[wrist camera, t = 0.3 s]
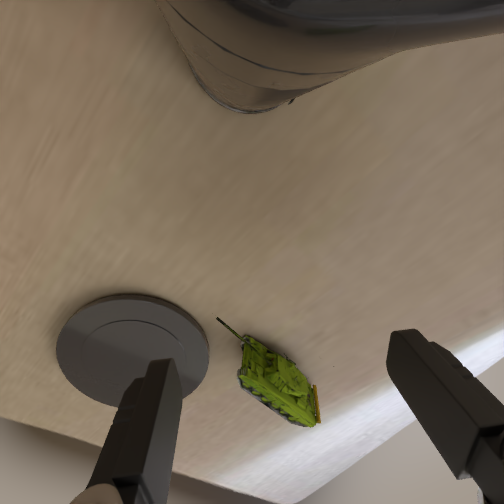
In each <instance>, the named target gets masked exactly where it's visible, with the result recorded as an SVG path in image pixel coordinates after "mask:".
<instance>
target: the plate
mask: <svg viewBox="0 0 504 504" xmlns="http://www.w3.org/2000/svg"><path fill="white" fill-rule="evenodd" d="M56 353H57V360H58V363H59V366H60V368H61V370H62V372H63V374H64V375H65V377H66V378H67V379H68V380H69V382H70V383H71V384H72V385H73V386H74V387H76V388H77V389H78V390H79V391H80V392H82V393H83V394H85V395H86V396H88V397H90V398H92V399H94V400H96V401H98V402H101V403H103V404H107V405H110V406H114V407H119V404H120V402H121V399H122V397H123V394H124V392H125V391H126V389H127V388H128V387H129V386H130V384H131V383H132V382H133V381H134V379H135V378H141V377H145V375H146V372H147V368H148V365H149V363H150V361H151V360H158V359H166V358H173V359H174V360H175V364H176V368H177V371H178V375H179V379H180V383H181V387H182V399H183V398H185V397H186V396H188V395H189V394H191V393H192V392H193V391H194V390H195V389H196V388H197V387H198V386H199V385H200V383H201V382H202V380H203V379H204V377H205V375H206V372H207V369H208V364H209V347H208V342H207V339H206V336H205V335H204V333H203V331H202V329H201V328H200V326H199V325H198V324H197V322H196V321H195V320H194V319H193V318H192V317H191V316H189V315H188V314H187V313H186V312H184V311H183V310H181V309H179V308H178V307H176V306H174V305H172V304H170V303H168V302H165V301H163V300H160V299H157V298H152V297H148V296H141V295H116V296H110V297H106V298H102V299H99V300H96V301H94V302H92V303H90V304H88V305H86V306H84V307H83V308H81V309H80V310H78V311H77V312H76V313H75V314H74V315H73V316H72V317H71V318H70V319H69V320H68V322H67V323H66V324H65V326H64V327H63V328H62V330H61V332H60V334H59V337H58V340H57V347H56Z"/></svg>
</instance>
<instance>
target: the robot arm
mask: <svg viewBox="0 0 504 504" xmlns="http://www.w3.org/2000/svg"><path fill="white" fill-rule="evenodd" d="M155 2H156V4H157V5H158V7H159V9H160V11H161V13H162V14H163V16H164V18H165V20H166V22H167V23H168V25H169V27H170V29H171V31H172V32H173V34H174V36H175V38H176V40H177V41H178V43H179V45H180V47H181V49H182V50H183V52H184V54H185V56H186V58H187V59H188V61H189V64H190V67H191V69H192V71H193V73H194V75H195V77H196V79H197V80H198V82H199V83H200V85H201V86H202V88H203V89H204V90H205V91H206V93H207V94H208V95H209V96H210V97H211V98H212V99H214V100H215V101H216V102H217V103H219V104H220V105H222V106H224V107H225V108H227V109H230V110H232V111H235V112H239V113H245V114H256V113H262V112H266V111H269V110H272V109H274V108H276V107H278V106H280V105H281V104H283V103H285V102H287V101H289V100H291V99H292V100H291V101H290V102H289V104H291V103H292V102H293V100H294V99H295V98H296V97H298V96H300V95H303V94H305V93H307V92H310V91H312V90H314V89H316V88H319V87H321V86H323V85H326V84H328V83H330V82H332V81H335V80H337V79H339V78H341V77H343V76H346V75H348V74H350V73H353V72H355V71H357V70H359V69H362V68H364V67H366V66H368V65H371V64H373V63H375V62H378V61H380V60H382V59H384V58H386V57H388V56H391V55H393V54H396V53H398V52H402V51H405V50H410V49H415V48H420V47H426V46H431V45H436V44H442V43H447V42H453V41H459V40H465V39H471V38H477V37H482V36H488V35H494V34H500V33H504V0H155ZM386 366H387V371H388V374H389V376H390V378H391V380H392V381H393V383H394V384H395V386H396V387H397V389H398V391H399V392H400V394H401V395H402V397H403V398H404V400H405V401H406V403H407V404H408V406H409V407H410V409H411V410H412V412H413V413H414V415H415V416H416V418H417V419H418V421H419V422H420V424H421V425H422V427H423V429H424V430H425V432H426V433H427V434H428V436H429V437H430V439H431V441H432V442H433V444H434V445H435V447H436V448H437V450H438V451H439V453H440V454H441V456H442V457H443V459H444V460H445V462H446V463H447V465H448V467H449V468H450V470H451V471H452V473H453V474H454V476H455V477H456V479H457V480H460V479H466V478H473V479H474V480H475V482H476V483H477V485H478V486H479V489H478V504H504V405H503V404H502V403H501V402H500V401H499V400H498V399H497V398H496V397H495V396H494V395H493V394H492V393H491V392H490V391H489V390H488V389H487V388H486V387H485V386H484V385H483V384H482V383H481V382H480V381H479V380H478V379H477V378H476V377H475V378H474V377H473V374H472V373H471V372H470V371H469V370H468V369H467V368H466V367H463V365H462V363H461V362H460V361H459V360H458V359H457V358H456V357H455V356H454V355H453V354H452V353H451V352H450V351H448V350H446V349H445V348H443V347H442V346H440V345H438V344H437V343H435V342H428V340H427V339H426V338H425V337H424V336H423V335H422V334H421V333H420V332H419V331H418V330H416V329H407V330H399V331H393V332H392V333H391V336H390V342H389V348H388V354H387V360H386ZM181 409H182V387H181V383H180V379H179V375H178V371H177V368H176V364H175V360H174V359H173V358H166V359H158V360H151V361H150V363H149V365H148V368H147V372H146V375H145V377H141V378H135V379H134V381H133V382H132V383H131V384H130V386H129V387H128V388H127V389H126V391H125V392H124V394H123V397H122V399H121V402H120V404H119V407H118V411H117V412H116V415H115V417H114V420H113V425H111V427H110V430H109V433H108V435H107V438H106V440H105V443H104V445H103V448H102V451H101V453H100V456H99V459H98V461H97V464H96V466H95V469H94V471H93V474H92V477H91V479H90V481H89V483H88V485H87V487H86V489H85V490H84V491H83V492H82V493H80V494H79V495H78V496H77V497H76V498H75V499H74V500H73V501H72V502H71V503H70V504H166V503H167V496H168V490H169V484H170V478H171V471H172V465H173V459H174V453H175V446H176V440H177V434H178V428H179V421H180V415H181Z"/></svg>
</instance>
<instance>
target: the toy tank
mask: <svg viewBox="0 0 504 504" xmlns="http://www.w3.org/2000/svg"><path fill="white" fill-rule="evenodd" d="M212 314H213V313H212ZM216 319H217V320H218V321H219V320H220V319H219V318H218V317H217V318H216ZM219 322H220V323H222V324H223V325H224V326H225V325H226V324H225V323H224V322H223V321H222V320H220V321H219ZM225 327H226V328H227V329H229V330H230V331H231V332H232V331H233V330H232V329H231V328H230V327H229V326H228V325H226V326H225ZM228 327H229V328H228ZM232 333H233V334H235V335H236V336H237V337H238V334H237V333H236V332H235V331H233V332H232ZM238 338H239V339H241V340H242V341H241V348H242V350H243V357H242V358H243V360H242V367H241V369H238V371H237V380H238V383H239V385H240V387H241V388H242V389H243V390H245V391H246V392H247V393H249V394H250V395H252V396H253V397H254V398H256V399H257V400H259V401H260V402H262V403H263V404H264V405H266V406H267V407H269V408H270V409H271V410H273V411H274V412H276V413H277V414H278V415H280V416H281V417H283V418H284V419H285V420H287V421H288V422H289V423H291V424H295V425H299V426H303V427H308V426H309V427H314V426H315V425H316V423H321V420H320V412H319V404H318V396H317V388H316V385H313V388H311V385H310V384H309V383H308V382H307V379H306V377H305V376H304V375H303V374H302V373H301V372H300V371H299V370H298V368H296V367H295V365H296V364H295V363H294V362H293V361H291V360H290V359H289V358H288V357H287V356H286V355H285V354H284V355H285V356H286V357H287V358H288V359H289V360H287V359H285V358H284V357H283V356H281V355H280V354H277V353H275V352H273V351H271V350H269V349H267V348H266V347H264V346H263V345H262V344H261V343H259V342H257V341H256V340H254V339H253V338H252V337H249V336H246V335H245V337H244V338H242V337H241V336H239V337H238ZM333 367H334V366H333ZM308 379H309V378H308ZM314 401H315V405H314ZM315 409H316V413H315ZM315 414H316V416H315ZM310 423H311V424H310Z"/></svg>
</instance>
